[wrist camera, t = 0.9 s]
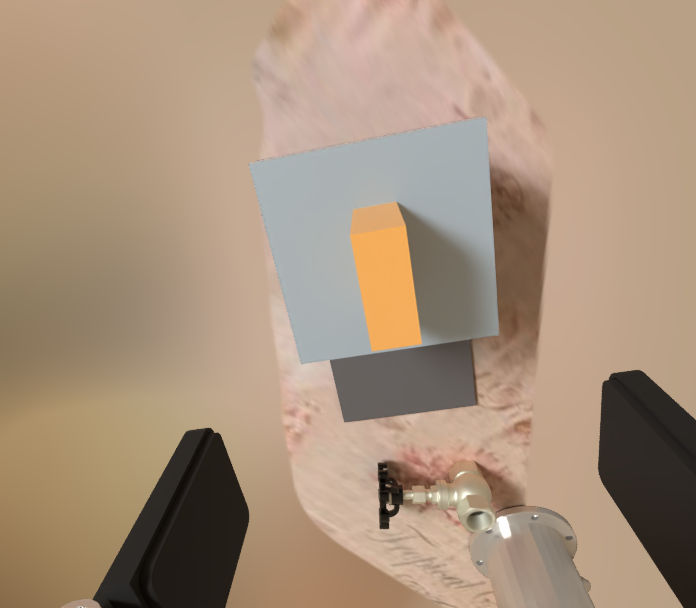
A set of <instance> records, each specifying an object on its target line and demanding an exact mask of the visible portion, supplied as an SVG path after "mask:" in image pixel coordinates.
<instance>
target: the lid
mask: <svg viewBox="0 0 696 608" xmlns="http://www.w3.org/2000/svg"><path fill="white" fill-rule="evenodd" d="M249 167H250V171H251V175H252V178H253V182H254V186H255V190H256V194H257V198H258V201H259V205H260V209H261V213H262V217H263V220H264V224H265V228H266V232H267V236H268V240H269V243H270V247H271V251H272V255H273V259H274V262H275V266H276V270H277V274H278V278H279V281H280V285H281V289H282V293H283V297H284V300H285V304H286V308H287V312H288V316H289V320H290V323H291V327H292V331H293V335H294V339H295V342H296V346H297V350H298V354H299V358H300V361H301V364H306V363H312V362H319V361H326V360H333V359H340V358H347V357H353V356H360V355H367V354H374V353H381V352H388V351H394V350H401V349H408V348H415V347H422V346H429V345H435V344H442V343H449V342H456V341H463V340H470V339H476V338H483V337H490V336H497V335H499V322H498V305H497V288H496V271H495V254H494V237H493V221H492V204H491V187H490V170H489V153H488V136H487V119H486V117H475V118H470V119H465V120H460V121H455V122H450V123H445V124H440V125H435V126H430V127H424V128H419V129H414V130H409V131H404V132H399V133H394V134H389V135H384V136H379V137H374V138H369V139H364V140H359V141H354V142H348V143H343V144H338V145H333V146H328V147H323V148H318V149H313V150H308V151H303V152H298V153H293V154H288V155H283V156H278V157H273V158H267V159H262V160H257V161H255V162H253V163H250V164H249Z"/></svg>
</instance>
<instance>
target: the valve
mask: <svg viewBox="0 0 696 608" xmlns="http://www.w3.org/2000/svg"><path fill="white" fill-rule="evenodd" d="M383 468H387V463H386V462H385V463H378V481H379V489H378V498H379V502H380V508H379V524H380V529H389V517H393V516H395V515H396V514H397V513H398V511H399V505H403V500H412V503H413V504H425V502H426V501H431V504H436V505H437V509H438V510H448V507H449V506H454V507H456V508H457V513H458V517H459V520H460V522H461V523H462V525H463V526H464V528H465V529H466V530H467V531H469V532H485V531H488V530H489V529H490V528H491V527H492V526H493V525H494V524H495V523H496V521H497V517H496V513H495V510H494V507H493V506H492V504H491V502H492V494H491V490H490V487H489V485H488V484H487V482H486V481H485V480H484V477H483V474H482V472H481V470H480V469H479V467H478V466H477V464H476V463H475V461H457V462H456V463H455V464H454V466H453V467H452V468H451V469H450V471H449V472H448V475H449V479H450V483H446V481H445V480H436V481H435V485H434V486H430V488H429V489H425V487H424V486H412V488H411V490H403V487H402V485H398V483H397V481H396V480H394V479H392V478H388V470H383ZM386 484H390V485H389V487H388V486H386ZM388 503H389V505H394V509H393V510H391V511H388V509H386V504H388Z"/></svg>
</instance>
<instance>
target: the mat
mask: <svg viewBox="0 0 696 608" xmlns="http://www.w3.org/2000/svg"><path fill="white" fill-rule="evenodd" d="M330 363H331V367H332V371H333V376H334V380H335V384H336V389H337V393H338V397H339V402H340V406H341V410H342V414H343V419H344V422H351V421H359V420H366V419H374V418H381V417H389V416H397V415H404V414H412V413H420V412H427V411H435V410H443V409H450V408H458V407H465V406H473V405H476V401H475V390H474V379H473V367H472V356H471V345H470V340H463V341H456V342H449V343H442V344H435V345H429V346H422V347H415V348H408V349H401V350H394V351H388V352H381V353H374V354H367V355H360V356H353V357H347V358H340V359H333V360H330Z"/></svg>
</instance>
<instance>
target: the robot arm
mask: <svg viewBox="0 0 696 608" xmlns="http://www.w3.org/2000/svg"><path fill="white" fill-rule="evenodd" d="M598 470H599V475H600V478H601V481H602V483H603V485H604V486H605V488H606V489H607V491H608V493H609V494H610V496H611V497H612V499H613V500H614V502H615V503H616V505H617V506H618V508H619V509H620V511H621V512H622V514H623V516H624V517H625V518H626V520H627V522H628V523H629V525H630V526H631V528H632V529H633V531H634V532H635V534H636V535H637V537H638V539H639V540H640V542H641V543H642V544H643V546H644V548H645V549H646V550H647V552H648V553H649V555H650V557H651V558H652V560H653V562H654V563H655V565H656V566H657V568H658V569H659V571H660V572H661V574H662V575H663V577H664V578H665V580H666V581H667V583H668V585H669V586H670V588H671V589H672V590H673V592H674V594H675V595H676V597H677V598H678V600H679V601H680V603H681V604H682V606H683V608H696V420H695V419H694V418H693V417H692V416H691V415H690V414H689V413H687V412H686V411H685V410H684V409H683V408H682V407H681V406H680V405H679V404H677V402H675V401H674V400H673V399H672V398H671V397H670V396H669V395H668V394H667V393H666V392H664V391H663V390H662V389H661V388H660V387H659V386H658V385H657V384H656V383H655V382H654V381H653V380H651V379H650V378H649V377H648V376H647V375H646V374H645V373H644V372H642V371H640V370H633V371H626V372H618V373H613V374H611V376H610V377H609V380H607V381H604V382H603V386H602V402H601V423H600V441H599V462H598ZM496 517H497V521H496V523H495V524H494V525H493V526H492V527H491V528H490V529H489V530H488V531H485V532H473V533H472V535H471V538H470V542H469V551H470V555H471V560H472V562H473V564H474V566H475V567H476V568H477V570H478V571H479V572H480V573H482V574H483V575H484V576H486V577H488V578H489V579H490V581H491V584H492V588H493V592H494V595H495V599H496V603H497V606H498V608H595V607H594V605H593V602H592V600H591V598H590V596H589V594H588V592H589V590H590V588H591V585H590V582H589V581H588V580H586V579H584V578H583V577H581V576H580V575H579V573H578V571H577V569H576V567H575V565H574V562H573V560H572V559H573V558H574V555H575V553H576V550H577V539H576V536H575V533H574V531H573V529H572V527H571V526H570V524H569V523H568V521H567V520H566V519H565V518H564V517H562V516H561V515H559V514H558V513H556V512H554V511H551V510H549V509H546V508H541V507H535V506H519V507H512V508H508V509H504V510H502V511H499V512H496ZM248 523H249V510H248V506H247V504H246V501H245V498H244V496H243V493H242V490H241V488H240V485H239V483H238V480H237V477H236V474H235V472H234V469H233V467H232V464H231V461H230V458H229V456H228V453H227V450H226V448H225V445H224V442H223V440H222V437H221V435H220V434H219V433H214V431H213V430H212V429H211V428H204V429H196V430H189V431H187V432H186V433H185V434H184V436H183V438H182V440H181V441H180V443H179V445H178V447H177V448H176V450H175V452H174V454H173V456H172V458H171V459H170V461H169V463H168V465H167V467H166V468H165V470H164V472H163V474H162V476H161V477H160V479H159V481H158V483H157V485H156V486H155V488H154V490H153V492H152V494H151V495H150V497H149V499H148V501H147V502H146V504H145V506H144V508H143V510H142V511H141V513H140V515H139V517H138V519H137V521H136V522H135V524H134V526H133V528H132V529H131V531H130V533H129V535H128V537H127V538H126V540H125V542H124V544H123V546H122V548H121V549H120V551H119V553H118V555H117V556H116V558H115V560H114V562H113V564H112V565H111V567H110V569H109V571H108V573H107V575H106V576H105V578H104V580H103V582H102V583H101V585H100V587H99V589H98V591H97V592H96V594H95V596H94V598H93V600H92V599H79V600H76V601H73V602H70V603H68V604H66V605H64V606H62V607H60V608H225V606H226V603H227V599H228V595H229V592H230V588H231V585H232V581H233V578H234V574H235V570H236V567H237V563H238V560H239V556H240V552H241V549H242V545H243V542H244V538H245V534H246V531H247V527H248Z"/></svg>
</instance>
